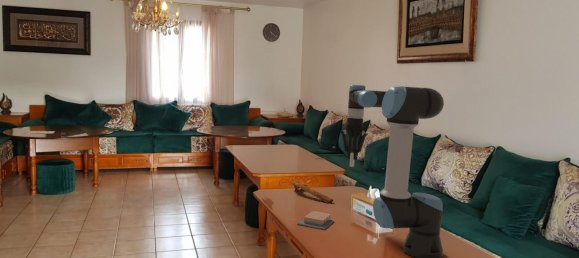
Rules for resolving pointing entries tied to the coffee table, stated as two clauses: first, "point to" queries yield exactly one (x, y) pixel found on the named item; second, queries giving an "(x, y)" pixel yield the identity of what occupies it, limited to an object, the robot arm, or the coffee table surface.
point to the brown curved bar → (312, 192)
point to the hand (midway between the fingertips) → (351, 166)
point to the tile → (317, 218)
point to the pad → (315, 225)
